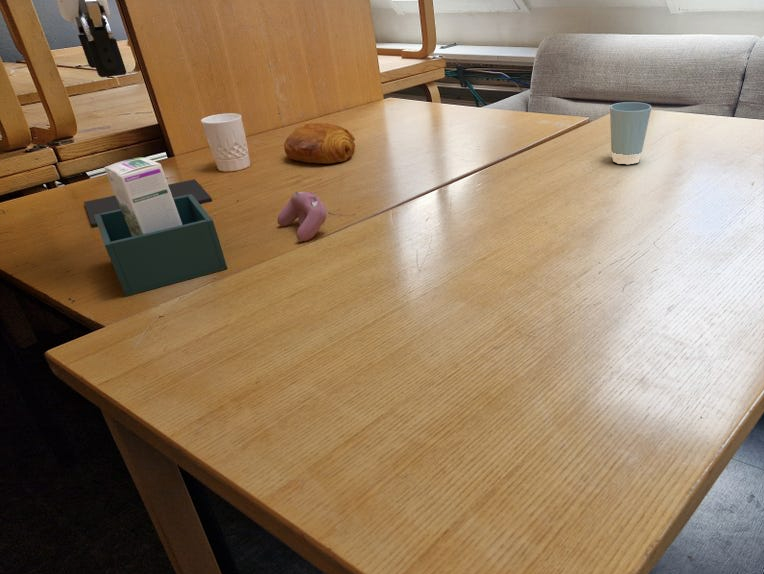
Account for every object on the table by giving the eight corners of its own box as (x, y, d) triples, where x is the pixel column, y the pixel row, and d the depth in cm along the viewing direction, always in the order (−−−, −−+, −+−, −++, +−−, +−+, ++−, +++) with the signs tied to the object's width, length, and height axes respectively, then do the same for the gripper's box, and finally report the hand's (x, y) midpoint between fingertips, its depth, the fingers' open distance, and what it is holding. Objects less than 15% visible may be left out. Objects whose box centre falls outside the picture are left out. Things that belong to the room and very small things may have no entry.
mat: (92, 227, 105) (91, 224, 105) (84, 204, 115) (83, 201, 115) (212, 201, 114) (211, 197, 113) (195, 182, 123) (194, 179, 123)
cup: (604, 166, 120) (609, 110, 114) (606, 155, 126) (610, 101, 121) (644, 168, 119) (651, 111, 113) (644, 156, 125) (650, 102, 119)
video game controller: (323, 247, 98) (335, 204, 96) (296, 242, 95) (308, 197, 93) (300, 228, 104) (310, 188, 102) (274, 223, 101) (284, 181, 99)
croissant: (328, 180, 127) (324, 142, 122) (273, 160, 133) (267, 123, 128) (372, 159, 137) (371, 123, 132) (320, 141, 143) (316, 106, 138)
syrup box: (196, 260, 91) (163, 161, 82) (156, 274, 87) (118, 173, 79) (179, 250, 94) (145, 154, 86) (140, 264, 90) (101, 165, 82)
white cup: (261, 164, 132) (249, 115, 126) (231, 174, 126) (217, 124, 121) (236, 159, 135) (224, 112, 130) (207, 169, 130) (192, 120, 124)
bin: (126, 296, 83) (104, 245, 79) (113, 262, 93) (93, 214, 88) (227, 269, 89) (212, 219, 85) (206, 239, 99) (191, 193, 94)
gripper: (12, -86, 75) (69, 66, 85) (17, -95, 63) (83, 84, 73) (80, -87, 79) (128, 60, 88) (97, -96, 67) (150, 75, 76)
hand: (107, 70), depth 81 cm, fingers open, 9 cm apart
